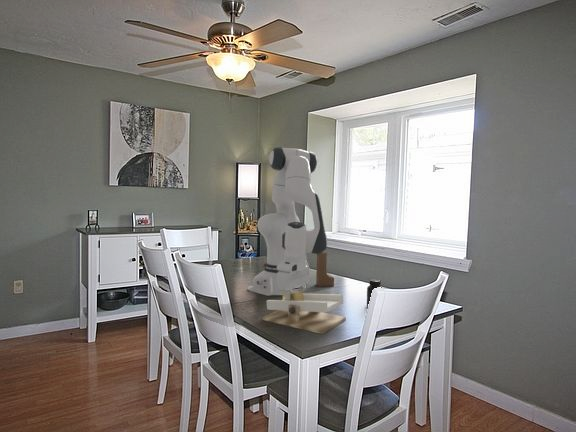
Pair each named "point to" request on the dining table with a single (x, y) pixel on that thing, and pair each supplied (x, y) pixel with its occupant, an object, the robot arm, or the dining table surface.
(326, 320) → the stand
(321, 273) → the wooden block
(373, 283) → the supplement bottle
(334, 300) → the beam
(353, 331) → the dining table surface
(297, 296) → the block
